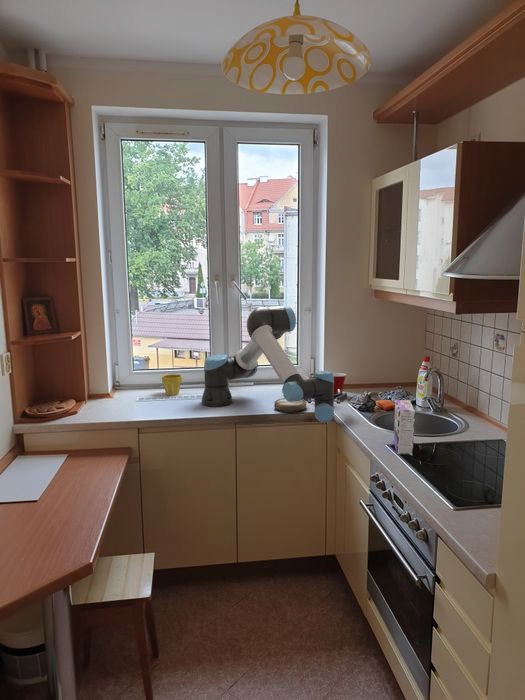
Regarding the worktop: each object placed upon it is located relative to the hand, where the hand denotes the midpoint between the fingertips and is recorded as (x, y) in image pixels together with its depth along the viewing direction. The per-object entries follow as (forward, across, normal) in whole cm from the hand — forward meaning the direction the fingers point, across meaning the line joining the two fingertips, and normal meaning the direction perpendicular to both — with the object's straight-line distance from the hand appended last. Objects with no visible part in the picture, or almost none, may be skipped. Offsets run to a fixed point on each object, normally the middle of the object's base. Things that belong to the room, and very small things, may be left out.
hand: (323, 391), depth 226 cm
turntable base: (+3, -16, -9) cm, 18 cm away
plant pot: (+24, -79, -9) cm, 83 cm away
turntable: (+3, -16, -9) cm, 18 cm away
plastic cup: (+26, +6, -9) cm, 29 cm away
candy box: (-45, +29, -10) cm, 54 cm away
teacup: (+35, -15, -9) cm, 39 cm away
